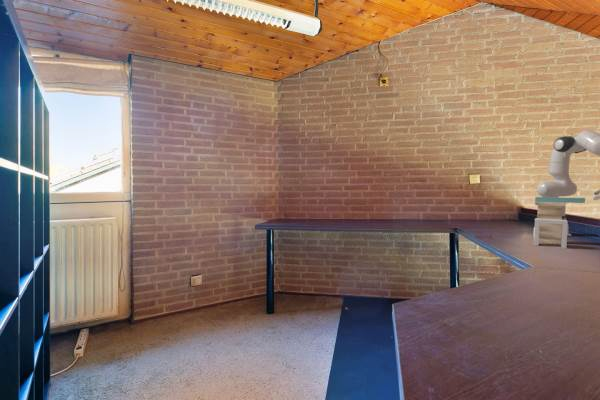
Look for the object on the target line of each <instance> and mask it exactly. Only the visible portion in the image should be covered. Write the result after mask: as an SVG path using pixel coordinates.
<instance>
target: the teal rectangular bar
mask: <svg viewBox="0 0 600 400" xmlns="http://www.w3.org/2000/svg"><path fill="white" fill-rule="evenodd" d="M535 202H563V203H566V204H568V203H569V204H586V197H564V196H559V197H541V196H535V197H534V203H535Z"/></svg>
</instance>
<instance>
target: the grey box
mask: <svg viewBox="0 0 600 400" xmlns="http://www.w3.org/2000/svg"><path fill="white" fill-rule="evenodd" d="M539 223H548V224H562V226H561V244H560V247H561V248H562V249H567V242H568V236H567V224H568V225H569V223H568V220H567V219H566V220H560V219H540V218H537V217H535V218H534V227H535V232H534V231H533V234H534V237H533V244H534V246H539V244H540V242H539Z"/></svg>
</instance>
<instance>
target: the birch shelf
mask: <svg viewBox="0 0 600 400" xmlns="http://www.w3.org/2000/svg"><path fill="white" fill-rule="evenodd" d="M534 205H535V206H537V211H536V212H537V215H536V218H540V219H560V220H562V206H566V205H567V203H563V202H535V201H534ZM561 225H562V224H548V223H539V244H540V243H542V244H552V243H553V244H554V245H561Z"/></svg>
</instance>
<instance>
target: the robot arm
mask: <svg viewBox="0 0 600 400" xmlns="http://www.w3.org/2000/svg"><path fill="white" fill-rule="evenodd" d="M586 151H588V152H589V153H592V154H594V155H596V156H598V157H600V133H599V132H597V131H594V130H591V129H585V130H582V131H581V132H579V133H578V134H577V135H571V136H568V135H567V136H561V137H557V138H556V139H555V140H554V142H553V149H552V151H551V153H550V156H549V164H548V174H549V175H550V176H552V177H553V179H554V181H543V182H539V183H538V184H537V186H536V193H537V194H538V196H539V197H569V196H572V195H575V194H576V193H577V191H578V187H577V184H576V183H575V182H573V181H572V179H571V178H570V173H569V171H570V170H569V169H570V160H571V159H570V158H571V155H572V154H578V153H579V154H580V153H583V152H586ZM593 195H594V196H593V197H592V199H593V200H594V201H597V200H600V188H599V189H598V190H597V191H594V192H593ZM562 220H567V215H566V206H562ZM561 226H562V225H561ZM571 236H572V234H571V233H569V223H568V224H567V237H571Z"/></svg>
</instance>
